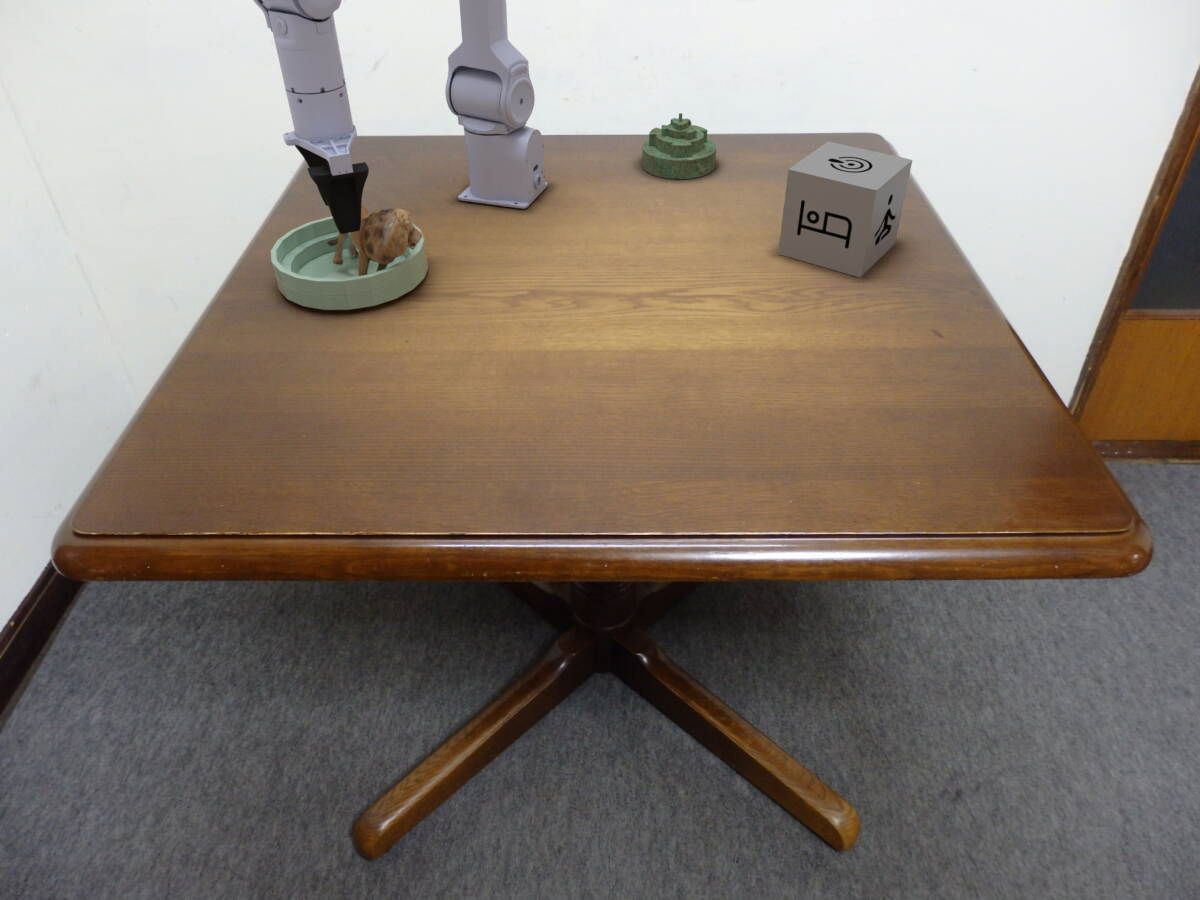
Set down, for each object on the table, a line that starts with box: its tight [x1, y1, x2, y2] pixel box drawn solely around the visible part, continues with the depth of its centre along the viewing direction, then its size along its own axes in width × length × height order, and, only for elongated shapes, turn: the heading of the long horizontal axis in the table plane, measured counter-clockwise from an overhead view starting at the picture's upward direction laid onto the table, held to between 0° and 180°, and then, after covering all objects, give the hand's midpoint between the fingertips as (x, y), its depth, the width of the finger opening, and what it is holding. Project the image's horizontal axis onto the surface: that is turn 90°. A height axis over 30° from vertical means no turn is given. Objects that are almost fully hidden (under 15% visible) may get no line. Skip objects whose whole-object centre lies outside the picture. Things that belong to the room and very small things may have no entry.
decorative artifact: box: [641, 112, 717, 180], centre depth 123 cm, size 10×7×10 cm
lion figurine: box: [327, 204, 424, 276], centre depth 98 cm, size 15×5×9 cm, turn 43°
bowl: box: [270, 212, 429, 311], centre depth 100 cm, size 16×16×4 cm
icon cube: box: [777, 141, 913, 278], centre depth 102 cm, size 10×10×10 cm
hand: (342, 216), depth 97 cm, fingers open, 7 cm apart
